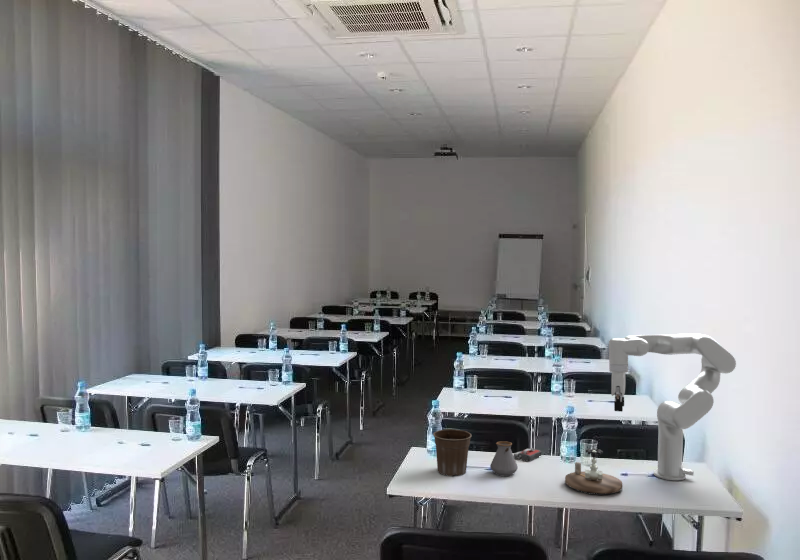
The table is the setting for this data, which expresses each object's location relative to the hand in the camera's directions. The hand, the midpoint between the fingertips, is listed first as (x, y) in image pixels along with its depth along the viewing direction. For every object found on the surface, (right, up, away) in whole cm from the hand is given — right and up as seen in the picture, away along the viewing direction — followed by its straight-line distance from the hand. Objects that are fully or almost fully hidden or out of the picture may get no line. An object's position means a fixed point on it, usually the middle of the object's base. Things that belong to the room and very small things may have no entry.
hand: (619, 408), depth 274 cm
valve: (-15, -27, -12) cm, 33 cm away
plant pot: (-70, -28, +3) cm, 75 cm away
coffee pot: (-48, -28, -2) cm, 56 cm away
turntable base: (-15, -29, -12) cm, 35 cm away
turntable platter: (-15, -28, -12) cm, 34 cm away
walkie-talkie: (-35, -28, +24) cm, 51 cm away
